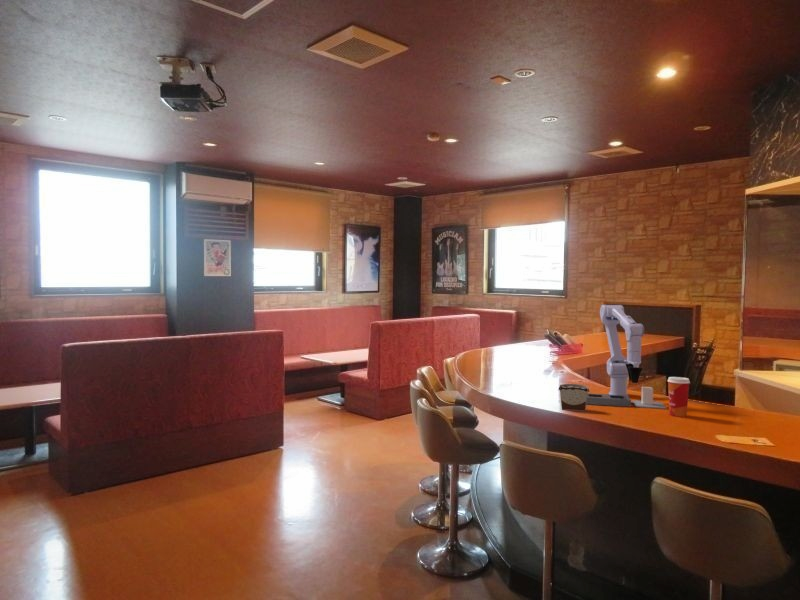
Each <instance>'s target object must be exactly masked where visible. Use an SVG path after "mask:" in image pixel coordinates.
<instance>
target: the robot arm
mask: <svg viewBox="0 0 800 600" xmlns="http://www.w3.org/2000/svg"><path fill="white" fill-rule="evenodd" d="M599 309H600V310H599V317H600V320H601V323H602V324H603V325H604V327H605V332H606V337H607V343H608V347H609V353H610V358H608V359H607V361H606V373H607V375H608V376H609V377H610V391H608V394H610V395H628V393H627V392H628V378H629V381H631V383H632V384H638V383H639V378H640V376H641V372H642V371H643V367H640V364H641V363H642V337H643V336H644V335H645V327H644V325H643V323H637V322H636V321H635V320H634V318H632V316H630V315H627V314H626V313H625V308H624V306H623V305H622V304H601V306H600V308H599ZM617 325H620V327H622V328H623V329H624V333H625V340H626V341H627V344H626V346H627V347H626V356H624V355H623V353H622V348H621V343H620V342H621V341H620V339H619V333H618V328H617ZM628 397H629V398H630V396H629V395H628Z"/></svg>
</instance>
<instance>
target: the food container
mask: <svg viewBox="0 0 800 600" xmlns="http://www.w3.org/2000/svg"><path fill="white" fill-rule="evenodd" d="M558 391H559V397H560V404H561V411H575V412H577V411H579V412H586V408H587V404H586V402H587V395H588V393H590V388H589V386H587V385H583V384H576V383H566V384H565V383H562V384H560V385H559V386H558Z"/></svg>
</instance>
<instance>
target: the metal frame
mask: <svg viewBox="0 0 800 600" xmlns="http://www.w3.org/2000/svg"><path fill="white" fill-rule="evenodd" d="M628 396H629V395H628V394H627V395H610V394H609V393H608V394H607V393H592V392H591V393H590V392H588V395H587V402H586V405H593V406H610V407H627V408H631V407H632V400H631V398H630V396H629V397H628Z"/></svg>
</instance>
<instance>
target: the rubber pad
mask: <svg viewBox="0 0 800 600" xmlns="http://www.w3.org/2000/svg"><path fill="white" fill-rule="evenodd" d="M631 404H633V405H634V407H635V408H643V409H656V410H657V409H658V410H659V409H660V410H667V409H668V408H667V407H666V406H665V405H664V403H662V402H661V401H653V405H644V404H642V403H641V400H634V399H632V400H631Z"/></svg>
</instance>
